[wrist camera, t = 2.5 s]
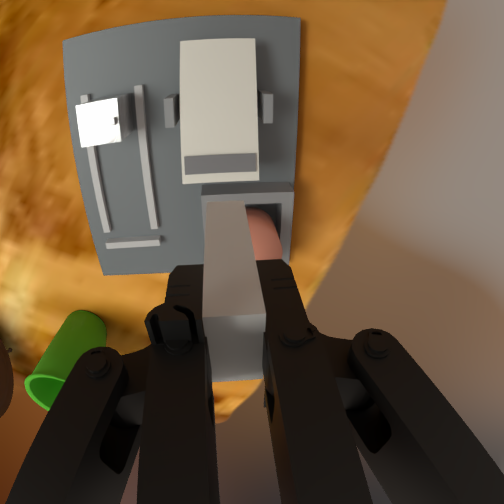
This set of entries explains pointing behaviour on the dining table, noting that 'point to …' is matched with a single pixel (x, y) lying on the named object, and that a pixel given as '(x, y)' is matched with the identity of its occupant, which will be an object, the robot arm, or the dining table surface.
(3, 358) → the alarm clock
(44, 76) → the dining table surface
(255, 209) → the round button
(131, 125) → the slider knob
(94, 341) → the cup
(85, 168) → the panel
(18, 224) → the dining table surface
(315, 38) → the dining table surface
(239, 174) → the paddle
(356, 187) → the dining table surface
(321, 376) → the robot arm
